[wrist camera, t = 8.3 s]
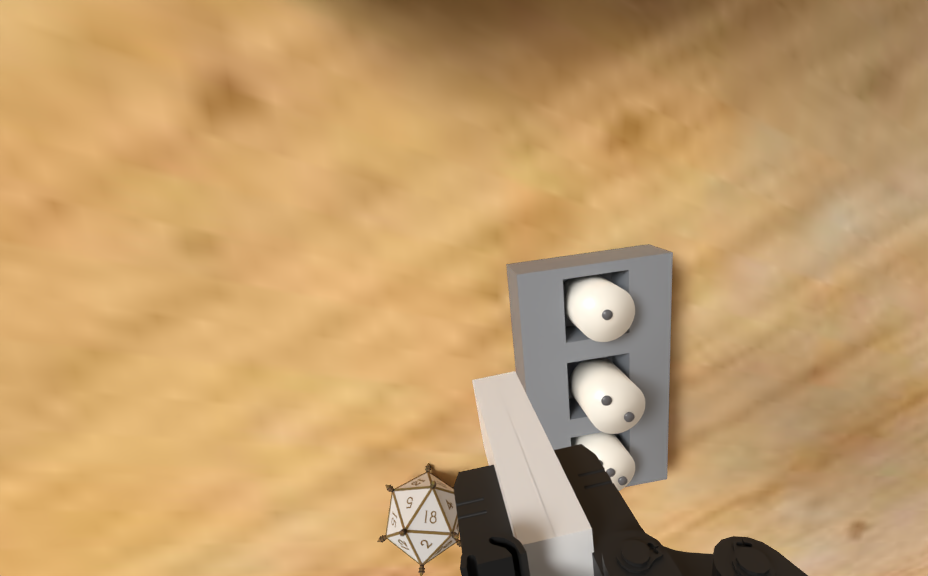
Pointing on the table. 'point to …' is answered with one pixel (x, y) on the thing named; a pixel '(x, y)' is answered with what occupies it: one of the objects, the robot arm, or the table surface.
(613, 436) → the button
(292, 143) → the table surface
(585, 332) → the button
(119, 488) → the table surface
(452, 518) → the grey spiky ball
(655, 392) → the button board
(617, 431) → the button
